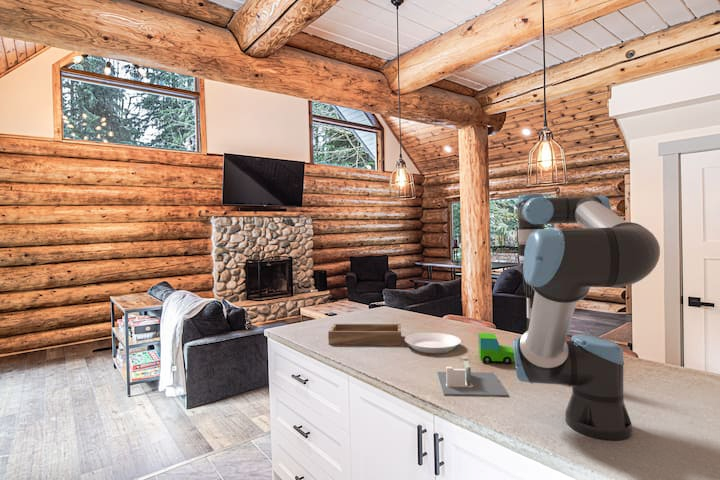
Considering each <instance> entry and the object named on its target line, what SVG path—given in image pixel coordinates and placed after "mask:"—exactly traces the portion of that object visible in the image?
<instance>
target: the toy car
mask: <svg viewBox="0 0 720 480" xmlns="http://www.w3.org/2000/svg"><path fill="white" fill-rule="evenodd" d="M478 356H479V359H480V362H481V361H482V362H484V363H485V364H490V363H491V362H502V363H504V364H505V365H510V364H511V363H512V362H514V363H515V358H514V347H512V346H508V345H502V344H500V343H499V341H498V338H497V336H496V335H495V333H492V332H491V333H487V332H486V333H485V332H478Z"/></svg>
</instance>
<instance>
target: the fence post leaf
mask: <svg viewBox="0 0 720 480" xmlns="http://www.w3.org/2000/svg"><path fill="white" fill-rule="evenodd" d="M445 372H446V384H447V386H465V369H463V368H453V367H452V366H446V367H445ZM471 372H472V370H471V366H470V367H467V386H471Z"/></svg>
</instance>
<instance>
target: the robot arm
mask: <svg viewBox="0 0 720 480" xmlns="http://www.w3.org/2000/svg"><path fill="white" fill-rule="evenodd" d="M517 199H518V200H517V214H518V216H517V218H518V231H517V237H518V238H517V239H518V240H517V242H518V243H520V244H518V245H517V246H518V256H519V257H523V260H522V263H521V265H520V266H521V270H522V271H521V272H522V281H523V284H522V285H523V293H524V295H525V297H526V318H527V319H528V318H530V323H529V329H528V331H527V330H526V331H525V332H524V333H523V334H522V335H521V337H519V336H518V337H514V339H513V340H512V345H513V347H512V348H513V350H514V358H515V362H514V365H515V374H516V378H517V379H518V380H519V381H520V382H524V383H529V384H544V385H545V384H547V385H557V386H569V387H571V386H572V388H571V389H572V392H571V396H570V399H569V401H568V403H567V406H566V409H565V414H564V417H565V423H566V425H568V426H569V427H570V428H571V429H573V430H575V431H576V432H578V433H580V434H582V435H585V436H588V437H592V438H595V439H600V440H607V441H608V440H609V441H619V440H620V441H621V440H625V439H626V440H627V439H628V438H630V437H631V436H632V435H633V425H632V421H631V418H630V415H629V413H628V410H627V407H626V405H625V400H624V366H625V362H624V361H625V360H624V352H623V348H622V346H621V345H619V344H618V343H616V342H614V341H613V340H610V339H608V338H604V337H600V336H596V335H590V334H584V333H579V334H577V333H575V334H573V335H572V336H571V338H570V340H567V335H568V333H569V330H570V325H571V321H572V319H573V316H574V313H575V309H576V306H577V303H578V302H579V301H580V300H583V299H584V298H585V297H586V296H587V294H588V293H589V291H590V289H591V288H620V287H627V286H630V285H633V284H636V283H638V282H640V281H642V280H644V279H645V278H646V277H647V276H649V275H650V274H651V273H652V271H653V270H655V269H656V266H657V264H658V263H659V259H660V254H661V247H660V243H659V241H658V239H657V238H656V237H655V235H654V234H653V232H651V231H650V230H649V229H648V228H647V227H644V226H643V225H641V224H639V223H637V222H636V223H635V222H628V221H626V220H625V219H624V218H622V217H621V216H619V215H618V214H617V213H615V212H614V211H612V207H611V206H612V205H611V202H610V199H609V198H608V196H606V195H605V196H604V195H590V196H589V195H586V196H583V195H582V196H564V197H563V196H561V197H560V196H559V197H558V196H557V197H555V196H554V197H544V195H543V194H542V193H524V194H520V195H519V196H518V198H517ZM549 224H550V225H554V224H555V225H556V224H559V225H560V224H578V225H579V226H580V227H581V228H580V227H579V228H577V227H575V228H559V227H550V228H545V225H549Z"/></svg>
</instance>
